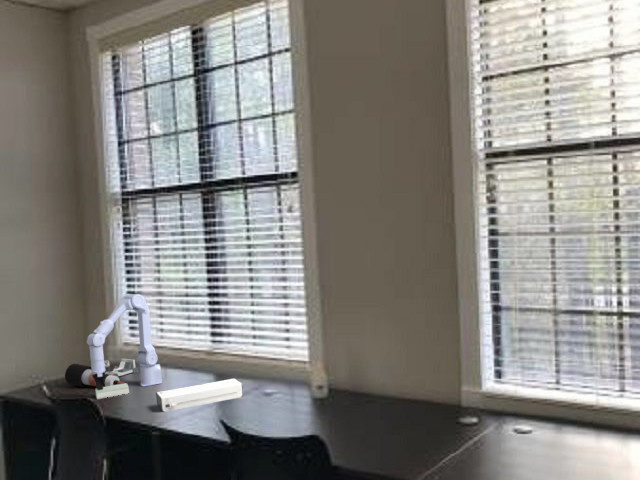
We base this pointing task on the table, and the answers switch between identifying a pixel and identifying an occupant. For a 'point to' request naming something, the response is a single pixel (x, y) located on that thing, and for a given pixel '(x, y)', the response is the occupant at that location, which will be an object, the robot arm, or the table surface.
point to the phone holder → (122, 367)
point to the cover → (112, 388)
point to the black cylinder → (87, 376)
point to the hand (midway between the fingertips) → (100, 389)
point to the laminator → (199, 394)
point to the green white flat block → (112, 393)
